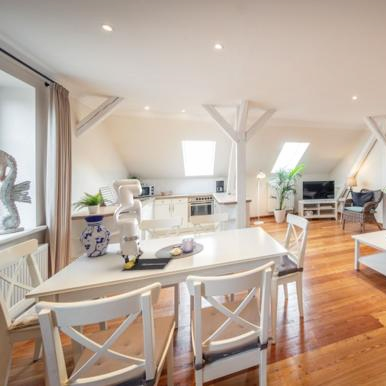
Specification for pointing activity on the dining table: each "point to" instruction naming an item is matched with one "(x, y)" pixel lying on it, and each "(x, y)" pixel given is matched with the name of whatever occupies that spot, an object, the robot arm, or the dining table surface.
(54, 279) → the dining table surface
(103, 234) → the vase
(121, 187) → the robot arm
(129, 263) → the banana
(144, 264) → the fork
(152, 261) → the place mat
